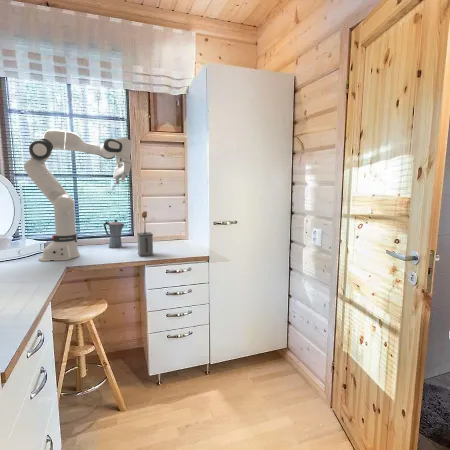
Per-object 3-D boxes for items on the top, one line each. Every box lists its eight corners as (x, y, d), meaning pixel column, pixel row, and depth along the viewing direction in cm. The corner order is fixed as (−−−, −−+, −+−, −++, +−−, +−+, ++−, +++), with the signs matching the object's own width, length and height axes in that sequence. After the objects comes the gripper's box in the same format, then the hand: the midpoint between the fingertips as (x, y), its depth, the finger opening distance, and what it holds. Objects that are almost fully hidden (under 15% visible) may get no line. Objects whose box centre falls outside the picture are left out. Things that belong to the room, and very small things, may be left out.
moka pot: (123, 248, 219) (122, 220, 216) (101, 248, 220) (100, 220, 217) (127, 245, 229) (126, 218, 226) (106, 245, 229) (105, 218, 226)
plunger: (141, 242, 197) (140, 212, 194) (139, 241, 203) (138, 211, 200) (150, 242, 200) (149, 211, 197) (148, 240, 205) (148, 211, 202)
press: (140, 257, 195) (139, 235, 193) (137, 253, 204) (137, 233, 202) (154, 256, 198) (153, 234, 196) (150, 252, 208) (150, 232, 206)
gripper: (112, 164, 208) (109, 184, 206) (123, 157, 192) (120, 178, 190) (121, 167, 212) (118, 186, 210) (133, 160, 196) (130, 181, 194)
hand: (119, 182), depth 200 cm, fingers open, 8 cm apart
